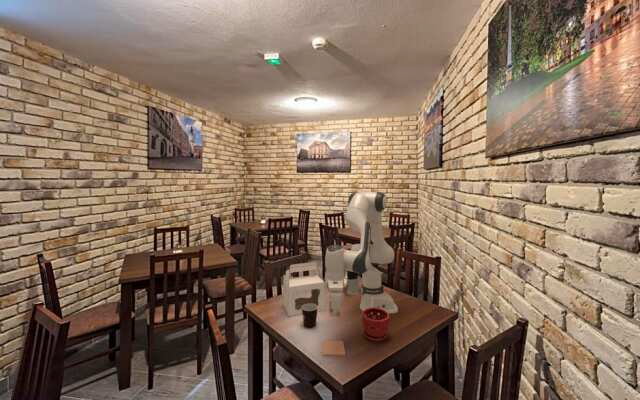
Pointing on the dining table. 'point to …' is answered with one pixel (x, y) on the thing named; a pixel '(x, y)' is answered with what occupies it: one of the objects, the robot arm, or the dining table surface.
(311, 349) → the dining table surface
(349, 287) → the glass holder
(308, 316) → the coffee mug
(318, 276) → the gable box
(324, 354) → the plate
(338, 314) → the beech cube
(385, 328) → the plant pot
